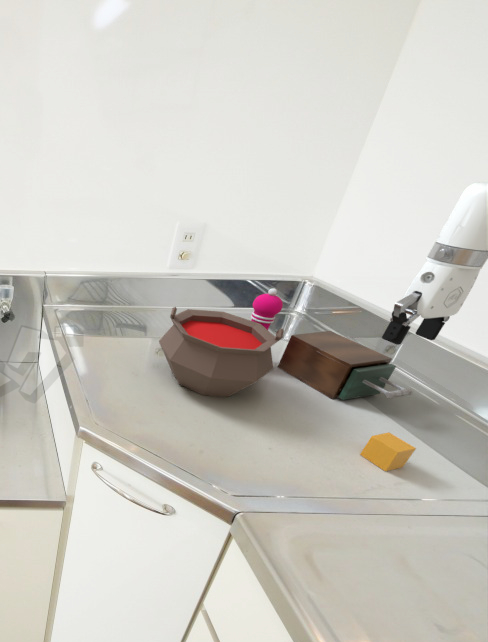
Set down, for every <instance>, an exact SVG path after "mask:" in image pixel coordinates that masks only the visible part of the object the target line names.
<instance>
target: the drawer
mask: <svg viewBox="0 0 488 642" xmlns="http://www.w3.org/2000/svg"><path fill="white" fill-rule="evenodd" d="M380 364H381V363H378V364H371V365H364V366H357V367H352V368H351V370H350V372H349V374H348V375H347V377H346V379H345V381H344V383H343V385H342V386H341V388H340V390H339V392H340V391H341V393H340V395H339V398H338V399H341V400H343V401H345V400H350V399H351V400H352V399H356V398H362V397H368V396H374V395H380V394H381V393H382V394H384V395H385V397H386V398H387V399H397V398H401V397H402V398H403V397H406V396H412V395H413V393H414V391H413V389H412V388H405V387H402V386H400V385H399V384H396V383H395V382H392V381H391V380H390V378H391V376H392V374H393V373H394V371H395V370H396V368H397V365H394V364H392V363H389V364H385V365H380ZM386 385H388V386H390V387H393V388H394V389H396V390H391V391H388V390H386V389H384V388H385V386H386Z"/></svg>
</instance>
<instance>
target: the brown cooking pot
mask: <svg viewBox="0 0 488 642" xmlns="http://www.w3.org/2000/svg"><path fill="white" fill-rule="evenodd" d="M177 310H178V308H177V307H176V306H174V307H172V309H171V312H170V315H169V317H170V320H171V322H172V325H171V327H170V328H169V329H168V330H167V331H166V332H165V333H164V335H163V336H162V337H160V339H159V340H158V343H159V346H160V348H161V350H162V352H163V354H164V358H165V359H166V361H167V363H168V366H169V368H170V371H171V372H172V374H173V376H174V378H175V379H176V381H177V383H178V384H179V386H181V387H184V388H186V389H189V391H190V390H191V391H192V392H194V393H197V394H200V396H201V395H202V396H209V397H221V398H228V397H230V396H232V395H234V394H236V393H238V392H240V391H242V390H244V389H246V388H247V387H249V386H251V385H254V384H256V383H257V382H258V381H260V380H261V379H262V378H263V377H265V376H266V375H267V374H268V373H269V372H271V371H272V370H273V369H274V362H273V353H272V346H275V344H277V343H278V342H280V341H281V340H282V339H283V338H284V333H285V330H284V328H279V329H278V330H277V331H276V333H275V335H274V333H272V332H270V330H269V329H268V330H267V329H266V328H265V327H264V326H262V325H261V324H259V323H256V322H253V321H251V319H247V318H244V317H241V316H238V315H236V314H233V313H228V312H225V311H219V310H218V311H217V310H205V309H191V308H187V309H185V310H183V311H180V312H178V313H177Z"/></svg>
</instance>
